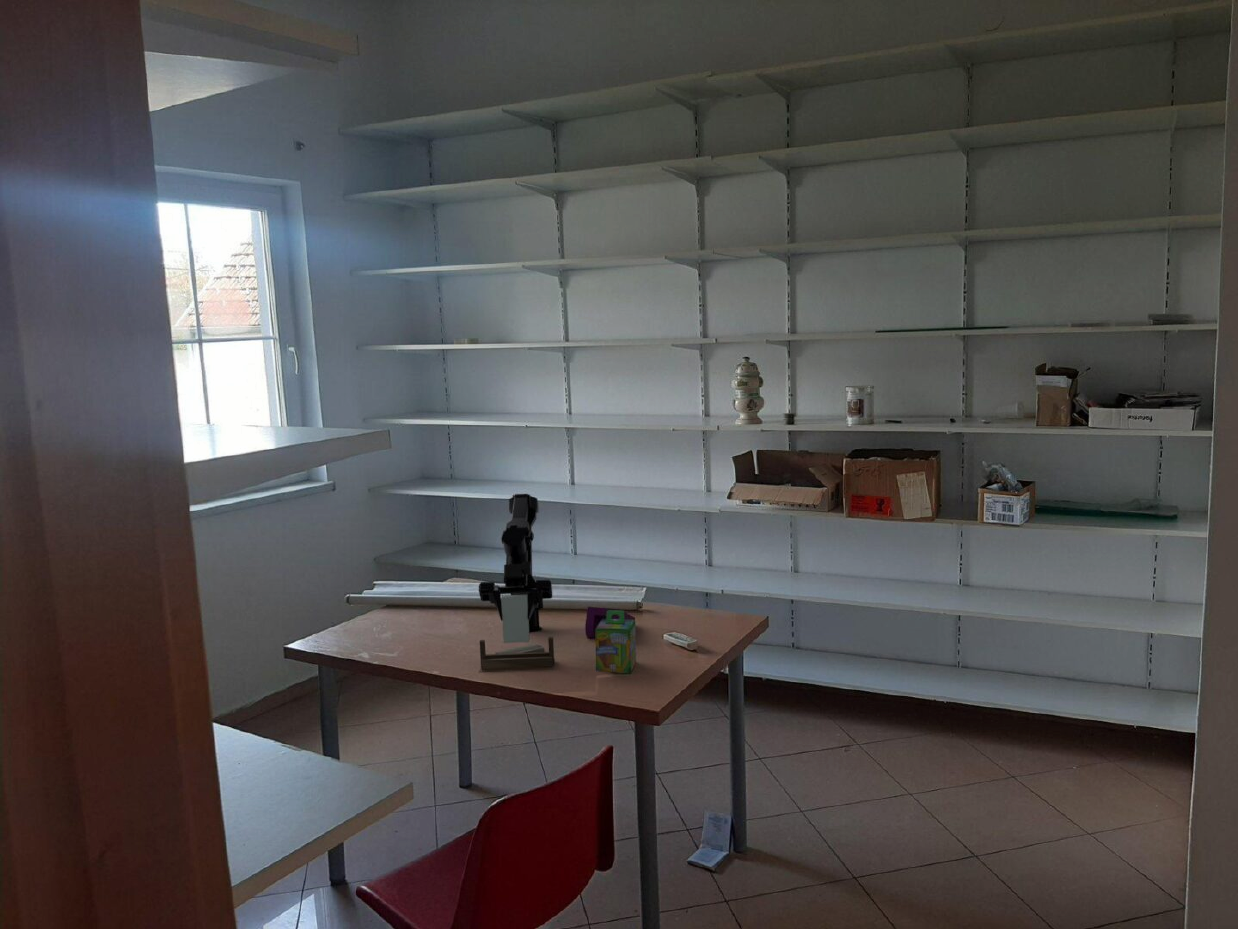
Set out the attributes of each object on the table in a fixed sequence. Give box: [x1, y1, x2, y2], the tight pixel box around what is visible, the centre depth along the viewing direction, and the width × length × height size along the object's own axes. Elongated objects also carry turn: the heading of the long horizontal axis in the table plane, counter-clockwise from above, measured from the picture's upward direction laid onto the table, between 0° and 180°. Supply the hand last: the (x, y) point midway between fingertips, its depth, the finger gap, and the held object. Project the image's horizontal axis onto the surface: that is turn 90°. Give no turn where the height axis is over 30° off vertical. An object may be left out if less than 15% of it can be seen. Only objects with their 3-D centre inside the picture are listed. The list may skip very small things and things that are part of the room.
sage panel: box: [501, 594, 530, 644], centre depth 236 cm, size 2×6×12 cm, turn 91°
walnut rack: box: [478, 636, 556, 673], centre depth 237 cm, size 8×19×8 cm, turn 91°
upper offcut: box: [495, 642, 546, 654], centre depth 245 cm, size 5×12×2 cm, turn 123°
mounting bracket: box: [584, 606, 636, 640], centre depth 264 cm, size 9×8×18 cm
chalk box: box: [594, 609, 637, 675], centre depth 235 cm, size 9×9×15 cm
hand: (514, 619), depth 235 cm, fingers closed on sage panel, 6 cm apart
